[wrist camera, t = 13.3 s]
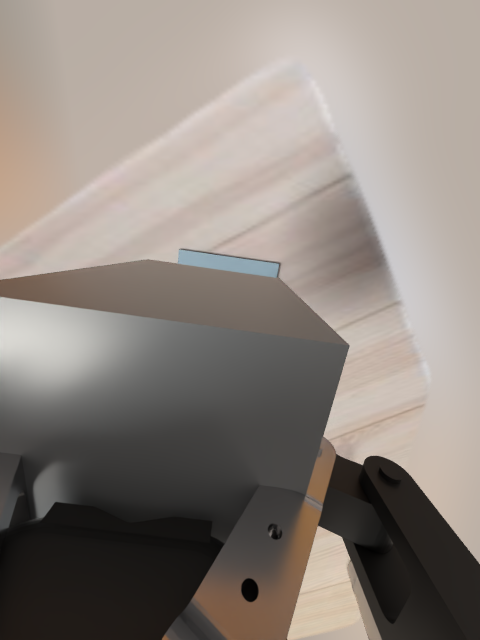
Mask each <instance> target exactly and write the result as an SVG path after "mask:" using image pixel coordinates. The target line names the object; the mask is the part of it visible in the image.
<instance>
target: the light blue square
mask: <svg viewBox="0 0 480 640" xmlns="http://www.w3.org/2000/svg"><path fill="white" fill-rule="evenodd" d="M178 264H183V265H190V266H197V267H204V268H211V269H218V270H225V271H232V272H239V273H246V274H253V275H260V276H267V277H274V278H277V273H278V267H279V264H277V263H270V262H263V261H256V260H249V259H242V258H235V257H228V256H221V255H214V254H207V253H200V252H193V251H187V250H180V249H179V258H178Z"/></svg>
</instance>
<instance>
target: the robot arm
mask: <svg viewBox="0 0 480 640" xmlns="http://www.w3.org/2000/svg"><path fill="white" fill-rule="evenodd" d="M318 526H320V527H322V528H324V529H326V530H329V531H331V532H333V533H335V534H337V535H339V536H341V537H342V538H343V541H344V543H345V546H346V549H347V551H348V554H349V556H350V559H351V561H350V563H349V564H348V574H349V578H350V581H351V584H352V588H353V591H354V594H355V597H356V600H357V603H358V606H359V610H360V613H361V616H362V619H363V623H364V625H365V629H366V632H367V635H368V638H369V640H480V564H479V563H478V561H477V560H476V559H475V558H474V556H473V555H472V554H471V553H470V551H469V550H468V549H467V547H466V546H465V545H464V544H463V542H462V541H461V540H460V539H459V537H458V536H457V535H456V533H455V532H454V531H453V530H452V528H451V527H450V526H449V524H448V523H447V522H446V521H445V519H444V518H443V517H442V516H441V514H440V513H439V512H438V510H437V509H436V508H435V507H434V505H433V504H432V503H431V501H430V500H429V499H428V498H427V496H426V495H425V494H424V493H423V491H422V490H421V489H420V487H419V486H418V485H417V484H416V482H415V481H414V480H413V479H412V477H411V476H410V475H409V474H408V473H407V472H406V471H405V470H404V469H403V468H402V467H401V466H399V465H398V464H396V463H394V462H393V461H391V460H389V459H386V458H384V457H380V456H370V457H367V458H366V459H365V461H364V464H363V465H361V464H358V463H355V462H353V461H350V460H348V459H345V458H343V457H341V456H339V455H337V454H336V451H335V449H334V447H333V445H332V444H331V443H330V442H329V441H328V440H327V439H326V438H325V437H323V438H322V442H321V445H320V448H319V452H318V455H317V459H316V462H315V466H314V469H313V472H312V476H311V479H310V483H309V486H308V490H307V493H306V495H304V494H302V493H299V492H296V491H293V490H289V489H285V488H279V487H271V486H263V485H259V487H258V488H257V490H256V492H255V494H254V495H253V497H252V499H251V500H250V502H249V504H248V505H247V507H246V509H245V510H244V512H243V514H242V515H241V517H240V519H239V521H238V522H237V524H236V526H235V527H234V529H233V531H232V532H231V534H230V536H229V537H228V539H227V541H226V542H225V543H223V542H222V541H220V540H218V539H216V538H214V537H212V536H211V529H212V521H208V520H200V519H191V518H183V517H175V516H173V517H167V518H160V519H154V520H147V521H140V522H133V523H131V522H126V521H124V520H122V519H120V518H118V517H115V516H113V515H111V514H109V513H107V512H105V511H103V510H101V509H98V508H96V507H94V506H86V505H78V504H69V503H61V502H55V503H54V504H53V506H52V507H51V508H50V510H49V511H48V512H47V514H46V515H45V516H44V517H42V518H37V519H33V520H32V519H31V513H30V506H29V500H28V494H27V487H26V481H25V474H24V468H23V461H22V455H18V454H10V453H1V452H0V640H287V635H288V632H289V628H290V625H291V621H292V617H293V614H294V610H295V606H296V603H297V599H298V595H299V592H300V588H301V585H302V581H303V577H304V574H305V570H306V566H307V563H308V559H309V556H310V552H311V548H312V545H313V541H314V537H315V534H316V530H317V527H318Z"/></svg>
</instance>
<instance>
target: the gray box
mask: <svg viewBox="0 0 480 640" xmlns="http://www.w3.org/2000/svg"><path fill="white" fill-rule="evenodd" d="M349 346H350V345H349V344H348V343H346V342H345V341H344V340H343V339H342V338H341V337H340V336H339V335H338V334H337V333H336V332H335V331H334V330H333V329H332V328H331V327H330V326H329V325H328V324H327V323H326V322H325V321H324V320H322V319H321V318H320V317H319V316H318V315H317V314H316V313H315V312H314V311H313V310H312V309H311V308H310V307H309V306H308V305H307V304H306V303H305V302H304V301H303V300H302V299H301V298H299V297H298V296H297V295H296V294H295V293H294V292H293V291H292V290H291V289H290V288H289V287H288V286H287V285H286V284H285V283H284V282H283V281H282V280H281V279H280V278H274V277H267V276H260V275H253V274H246V273H239V272H232V271H225V270H218V269H211V268H204V267H197V266H190V265H183V264H176V263H169V262H162V261H155V260H141V261H134V262H126V263H119V264H112V265H105V266H97V267H90V268H83V269H76V270H69V271H61V272H54V273H47V274H40V275H32V276H25V277H18V278H11V279H3V280H0V452H1V453H10V454H18V455H22V461H23V468H24V474H25V481H26V487H27V494H28V500H29V506H30V513H31V519H32V520H33V519H37V518H42V517H44V516H45V515H46V514H47V512H48V511H49V510H50V508H51V507H52V506H53V504H54V503H55V502H61V503H69V504H78V505H86V506H94V507H96V508H98V509H101V510H103V511H105V512H107V513H109V514H111V515H113V516H115V517H118V518H120V519H122V520H124V521H126V522H131V523H133V522H140V521H147V520H154V519H160V518H167V517H173V516H175V517H183V518H191V519H200V520H208V521H212V529H211V536H212V537H214V538H216V539H218V540H220V541H222V542H223V543H225V542H226V541H227V539H228V537H229V536H230V534H231V532H232V531H233V529H234V527H235V526H236V524H237V522H238V521H239V519H240V517H241V515H242V514H243V512H244V510H245V509H246V507H247V505H248V504H249V502H250V500H251V499H252V497H253V495H254V494H255V492H256V490H257V488H258V487H259V485H263V486H271V487H279V488H285V489H289V490H293V491H296V492H299V493H302V494H304V495H306V493H307V490H308V486H309V483H310V479H311V476H312V472H313V469H314V466H315V462H316V459H317V455H318V452H319V448H320V445H321V442H322V438H323V435H324V431H325V428H326V424H327V421H328V418H329V414H330V411H331V407H332V404H333V400H334V397H335V394H336V390H337V387H338V383H339V380H340V376H341V373H342V370H343V366H344V363H345V359H346V356H347V352H348V349H349Z"/></svg>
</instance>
